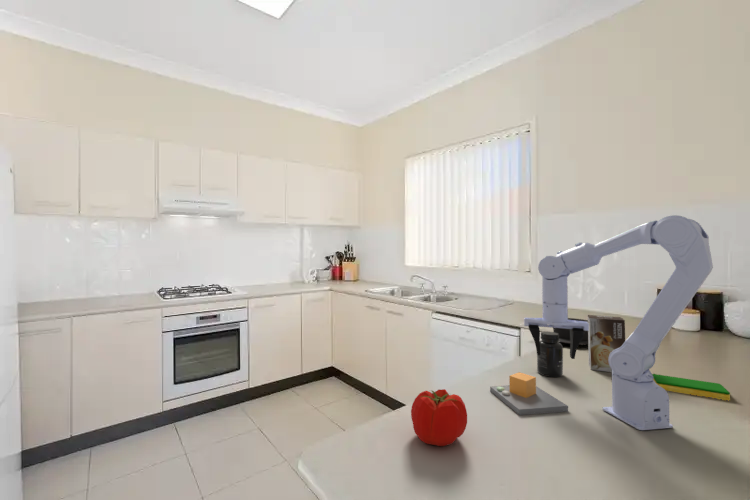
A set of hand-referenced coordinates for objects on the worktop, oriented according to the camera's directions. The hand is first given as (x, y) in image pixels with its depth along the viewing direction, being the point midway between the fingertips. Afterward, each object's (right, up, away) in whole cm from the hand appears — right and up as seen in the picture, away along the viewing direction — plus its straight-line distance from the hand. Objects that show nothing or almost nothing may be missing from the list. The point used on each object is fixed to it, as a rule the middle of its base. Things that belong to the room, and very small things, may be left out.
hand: (555, 356), depth 86 cm
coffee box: (+26, -10, +18) cm, 33 cm away
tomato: (-34, -9, -21) cm, 41 cm away
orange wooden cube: (-10, -8, -3) cm, 13 cm away
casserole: (+35, -11, +51) cm, 62 cm away
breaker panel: (-9, -9, -5) cm, 14 cm away
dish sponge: (+36, -10, +2) cm, 38 cm away
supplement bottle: (+6, -10, +14) cm, 18 cm away
